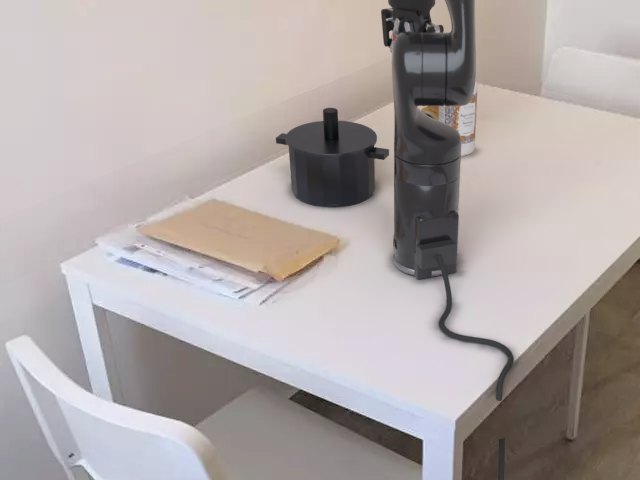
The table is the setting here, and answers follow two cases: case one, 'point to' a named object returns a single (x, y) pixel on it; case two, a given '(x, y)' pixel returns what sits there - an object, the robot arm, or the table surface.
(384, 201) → the table surface
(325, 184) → the pot
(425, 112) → the pastry
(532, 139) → the table surface
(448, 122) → the bath foam
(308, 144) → the pot lid
